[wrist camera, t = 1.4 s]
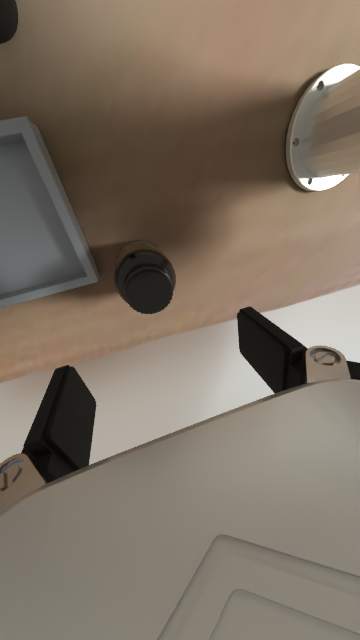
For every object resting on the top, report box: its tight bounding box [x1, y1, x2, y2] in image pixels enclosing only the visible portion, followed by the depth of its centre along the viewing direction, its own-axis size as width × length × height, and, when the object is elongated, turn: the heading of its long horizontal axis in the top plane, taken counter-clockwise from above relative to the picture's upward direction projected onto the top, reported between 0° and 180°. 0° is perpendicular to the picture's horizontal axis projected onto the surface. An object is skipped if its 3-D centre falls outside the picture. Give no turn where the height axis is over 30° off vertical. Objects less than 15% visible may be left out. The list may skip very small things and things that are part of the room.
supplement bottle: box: [115, 241, 176, 314], centre depth 24 cm, size 7×7×12 cm
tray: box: [0, 116, 100, 309], centre depth 23 cm, size 14×16×3 cm
